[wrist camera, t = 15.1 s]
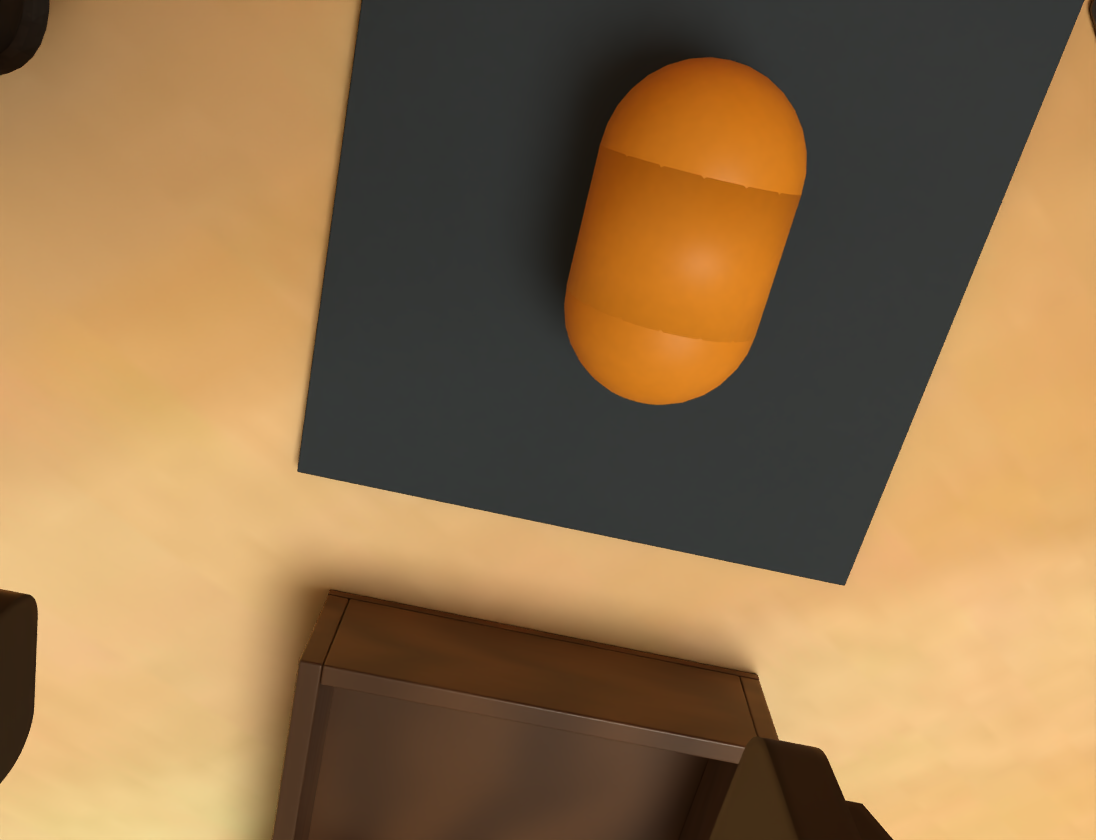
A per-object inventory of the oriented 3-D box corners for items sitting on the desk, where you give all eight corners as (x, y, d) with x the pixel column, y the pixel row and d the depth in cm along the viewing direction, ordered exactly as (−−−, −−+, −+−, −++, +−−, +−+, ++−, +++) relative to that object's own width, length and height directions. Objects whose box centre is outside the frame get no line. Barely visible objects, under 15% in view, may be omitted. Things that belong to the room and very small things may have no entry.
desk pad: (300, 467, 31) (296, 472, 31) (403, -279, 23) (400, -285, 23) (841, 580, 32) (844, 586, 32) (1112, -86, 24) (1121, -88, 24)
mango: (539, 350, 29) (551, 415, 23) (612, 36, 25) (646, 30, 20) (702, 382, 29) (749, 451, 24) (795, 82, 26) (872, 88, 21)
